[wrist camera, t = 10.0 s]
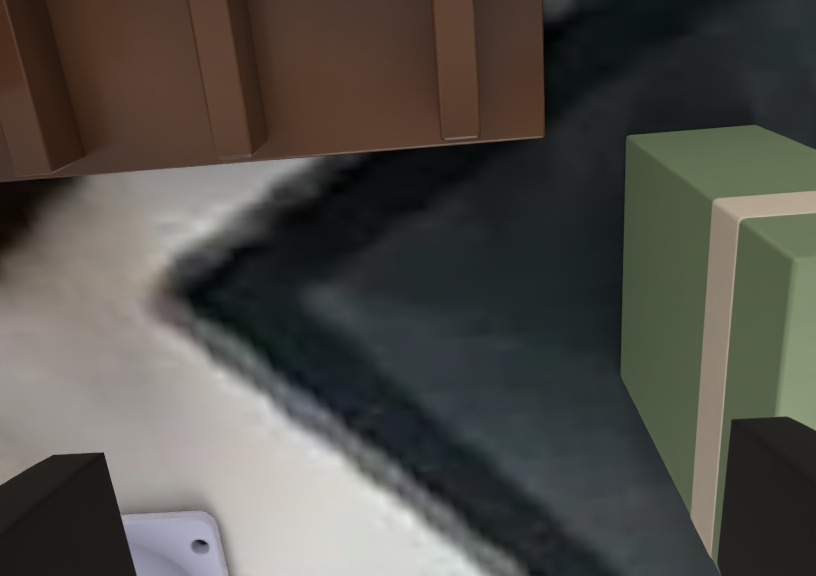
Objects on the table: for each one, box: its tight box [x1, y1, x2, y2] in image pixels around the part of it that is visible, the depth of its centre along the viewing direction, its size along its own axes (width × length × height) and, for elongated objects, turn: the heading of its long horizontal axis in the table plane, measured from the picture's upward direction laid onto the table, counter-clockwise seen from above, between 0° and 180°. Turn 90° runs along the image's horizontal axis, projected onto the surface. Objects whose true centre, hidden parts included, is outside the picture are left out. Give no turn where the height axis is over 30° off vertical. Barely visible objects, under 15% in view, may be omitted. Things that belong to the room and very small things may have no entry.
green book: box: [621, 125, 816, 575], centre depth 14 cm, size 6×3×8 cm, turn 5°
